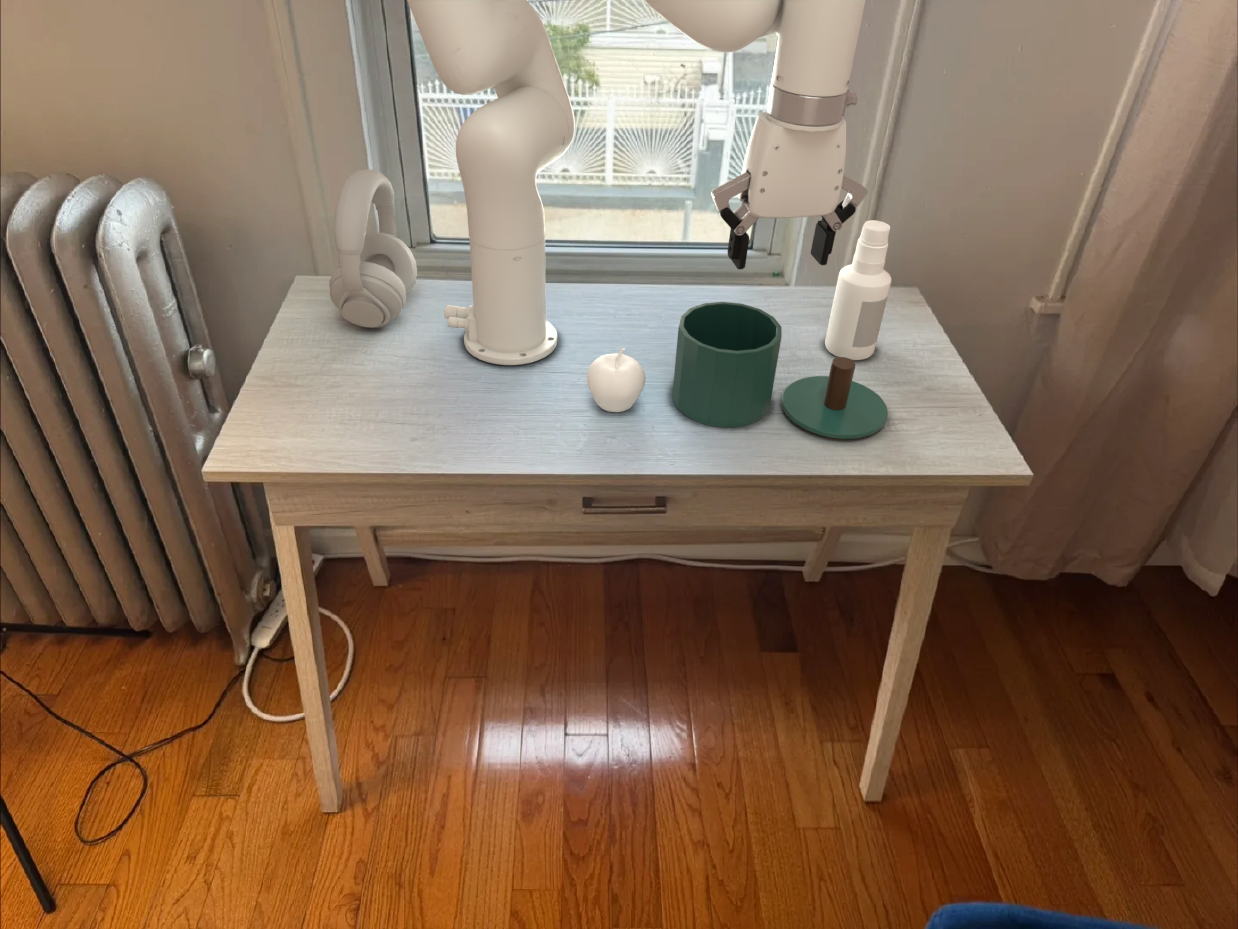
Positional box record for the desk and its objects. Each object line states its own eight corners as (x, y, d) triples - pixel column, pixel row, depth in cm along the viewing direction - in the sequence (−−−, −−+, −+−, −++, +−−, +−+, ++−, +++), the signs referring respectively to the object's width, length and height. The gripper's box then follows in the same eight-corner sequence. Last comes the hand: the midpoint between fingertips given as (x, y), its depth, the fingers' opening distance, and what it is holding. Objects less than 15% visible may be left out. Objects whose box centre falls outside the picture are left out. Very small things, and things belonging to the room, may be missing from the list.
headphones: (398, 349, 123) (381, 205, 110) (322, 344, 123) (296, 199, 111) (429, 285, 137) (417, 151, 125) (361, 280, 137) (342, 146, 125)
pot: (668, 421, 112) (675, 346, 106) (677, 368, 122) (683, 297, 115) (768, 432, 111) (781, 357, 105) (769, 378, 121) (781, 307, 114)
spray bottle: (874, 364, 125) (905, 239, 114) (823, 357, 125) (849, 232, 114) (873, 339, 130) (903, 218, 119) (824, 332, 131) (849, 211, 120)
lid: (780, 436, 111) (790, 385, 106) (780, 378, 121) (789, 330, 116) (890, 448, 109) (904, 398, 105) (881, 389, 120) (893, 341, 115)
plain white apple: (640, 423, 111) (643, 366, 107) (582, 416, 112) (583, 360, 107) (646, 391, 117) (650, 336, 112) (591, 385, 118) (592, 330, 113)
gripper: (869, 92, 97) (836, 244, 107) (712, 94, 93) (694, 250, 104) (901, 115, 91) (863, 273, 102) (735, 118, 88) (714, 281, 98)
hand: (778, 261), depth 103 cm, fingers open, 9 cm apart
